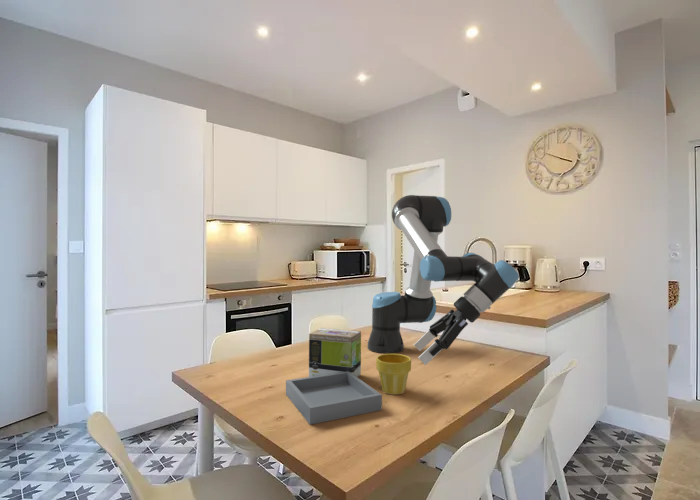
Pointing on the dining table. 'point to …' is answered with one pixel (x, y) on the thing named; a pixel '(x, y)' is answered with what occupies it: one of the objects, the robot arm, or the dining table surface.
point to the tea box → (334, 352)
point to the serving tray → (332, 397)
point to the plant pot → (393, 372)
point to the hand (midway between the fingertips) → (418, 354)
